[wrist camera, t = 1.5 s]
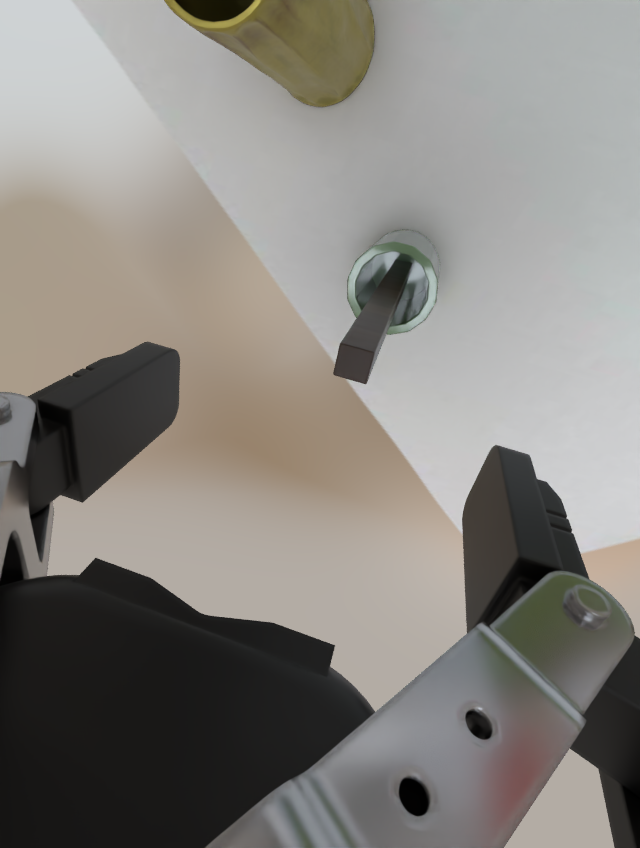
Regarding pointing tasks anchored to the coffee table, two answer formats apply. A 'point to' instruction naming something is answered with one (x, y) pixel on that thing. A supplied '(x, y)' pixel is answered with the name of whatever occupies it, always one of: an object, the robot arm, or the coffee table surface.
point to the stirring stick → (372, 326)
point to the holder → (419, 285)
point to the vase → (292, 40)
